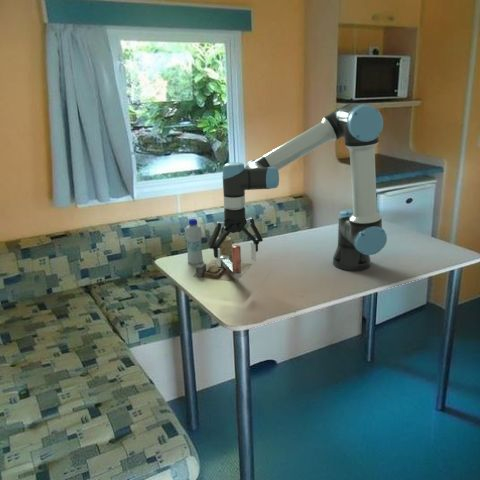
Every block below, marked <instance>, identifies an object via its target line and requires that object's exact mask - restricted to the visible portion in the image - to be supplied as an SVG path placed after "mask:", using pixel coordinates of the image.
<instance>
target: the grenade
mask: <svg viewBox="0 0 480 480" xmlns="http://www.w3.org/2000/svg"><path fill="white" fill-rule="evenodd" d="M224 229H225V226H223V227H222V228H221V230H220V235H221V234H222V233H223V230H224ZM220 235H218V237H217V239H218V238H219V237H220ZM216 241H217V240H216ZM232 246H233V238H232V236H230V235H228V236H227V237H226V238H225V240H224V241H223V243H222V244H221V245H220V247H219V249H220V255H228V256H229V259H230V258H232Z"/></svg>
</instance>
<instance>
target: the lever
mask: <svg viewBox="0 0 480 480" xmlns="http://www.w3.org/2000/svg"><path fill="white" fill-rule="evenodd" d="M241 252H242V251H241V245H238V244H235V245H232V257H231V260H230V258H229V256H228V255H220V258H221V264H222V265H223V266H224V267H225V269H226V270H227V271H228V272H229V273H230V274H231V275H232V276H233V278H234V279H235V278H239V279H240V278H243V277H242V276H243V275H242V276H241V263H242V257H241V256H242V255H241V254H242V253H241Z"/></svg>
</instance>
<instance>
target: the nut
mask: <svg viewBox="0 0 480 480" xmlns="http://www.w3.org/2000/svg"><path fill="white" fill-rule="evenodd" d="M218 271H219V268H218V266H217V265H215V264H212V265H210V266H209V272H210V273H218Z"/></svg>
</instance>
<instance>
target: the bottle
mask: <svg viewBox="0 0 480 480" xmlns="http://www.w3.org/2000/svg"><path fill="white" fill-rule="evenodd" d="M202 234H203V233H202V228H201V225H199V224H198V220H197V219H196V218H190V219H189V220H188V225H187V226H186V227H185V235H184V236H185V239H186V244H187V248H186V250H187V263H189V264H191V265H199V264H200V263H202V262H203V260H204V257H203V249H202V238H203V237H202Z"/></svg>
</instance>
